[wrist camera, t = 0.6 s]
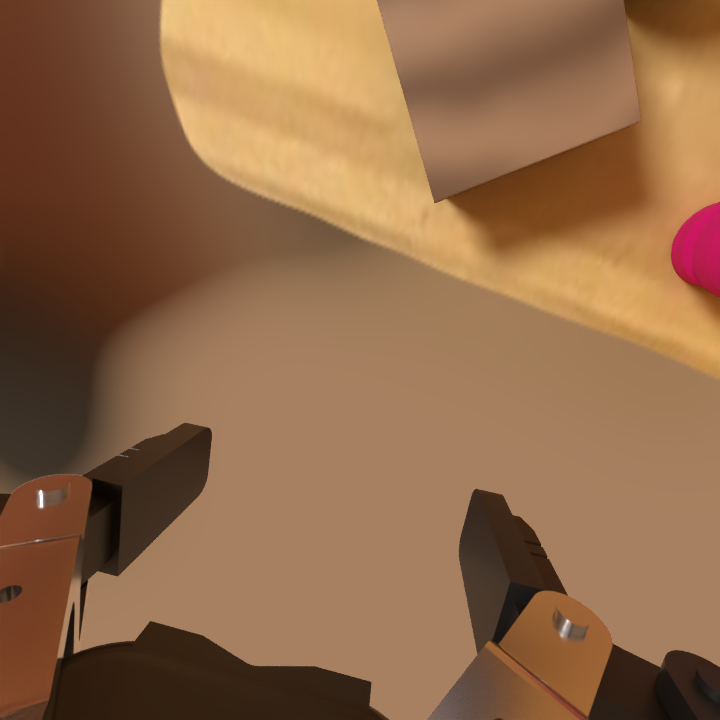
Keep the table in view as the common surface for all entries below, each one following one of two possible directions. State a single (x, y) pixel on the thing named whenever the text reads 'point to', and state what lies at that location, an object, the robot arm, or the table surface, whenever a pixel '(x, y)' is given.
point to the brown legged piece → (509, 81)
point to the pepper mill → (699, 249)
